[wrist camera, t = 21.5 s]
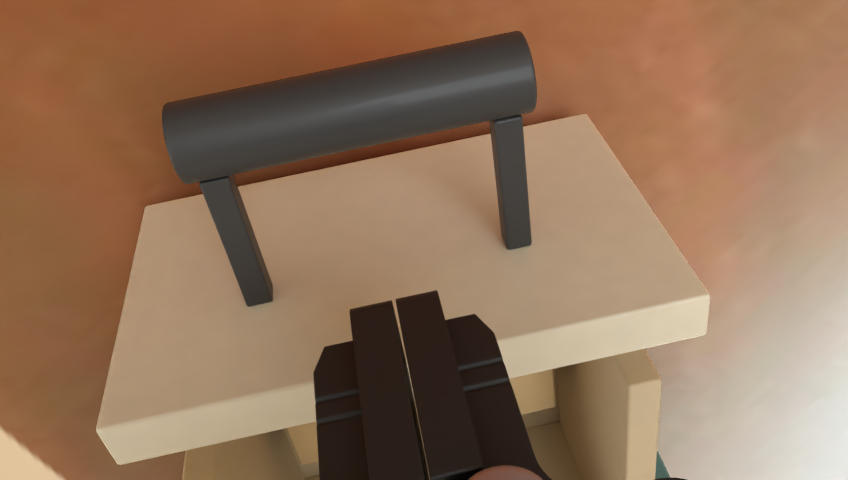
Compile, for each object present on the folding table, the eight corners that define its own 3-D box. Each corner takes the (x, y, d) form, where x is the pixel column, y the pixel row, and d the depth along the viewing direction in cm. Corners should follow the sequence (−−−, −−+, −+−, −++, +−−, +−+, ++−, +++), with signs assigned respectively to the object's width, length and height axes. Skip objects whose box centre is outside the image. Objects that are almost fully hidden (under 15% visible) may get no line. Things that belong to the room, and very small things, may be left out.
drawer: (66, 35, 18) (-36, 232, 12) (584, -69, 19) (738, 70, 13) (266, 473, 29) (265, 696, 23) (591, 401, 30) (677, 599, 23)
